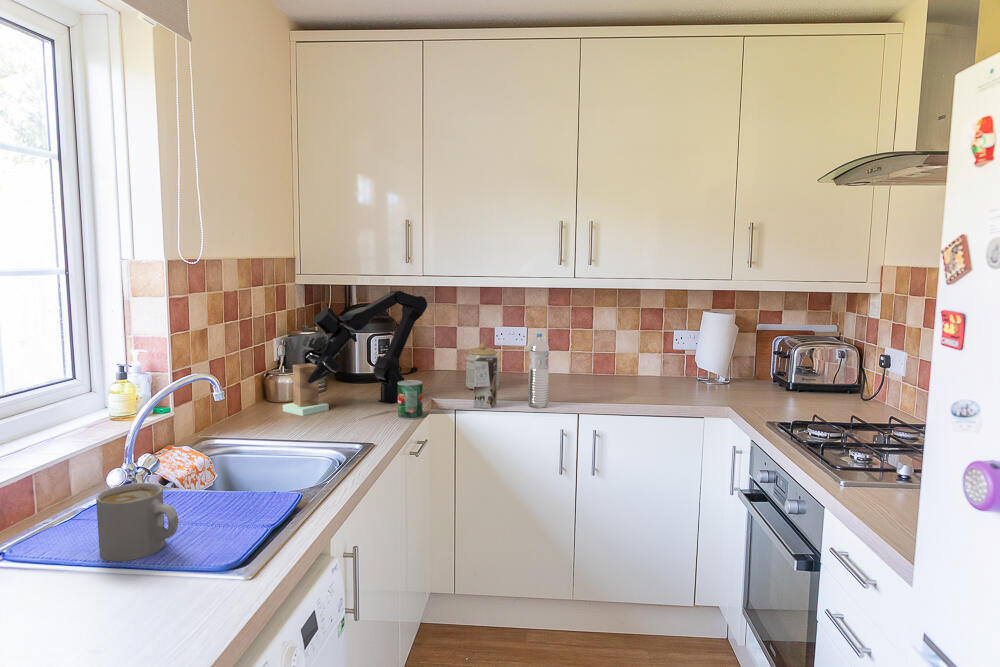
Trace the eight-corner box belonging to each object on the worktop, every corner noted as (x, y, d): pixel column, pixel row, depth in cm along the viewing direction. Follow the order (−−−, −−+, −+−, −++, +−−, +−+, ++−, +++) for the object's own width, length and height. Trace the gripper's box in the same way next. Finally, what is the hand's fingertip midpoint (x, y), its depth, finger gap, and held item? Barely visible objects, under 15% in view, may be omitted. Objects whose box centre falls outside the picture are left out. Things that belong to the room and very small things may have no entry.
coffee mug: (85, 555, 111) (82, 498, 110) (136, 532, 120) (133, 479, 119) (145, 569, 106) (142, 510, 105) (193, 544, 116) (190, 489, 115)
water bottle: (541, 409, 220) (543, 335, 217) (524, 406, 224) (525, 334, 221) (551, 405, 226) (552, 333, 223) (534, 403, 230) (535, 332, 227)
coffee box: (491, 408, 220) (492, 361, 218) (473, 407, 221) (473, 360, 220) (497, 402, 229) (497, 357, 227) (479, 401, 230) (479, 356, 228)
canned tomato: (427, 416, 208) (427, 382, 207) (406, 420, 203) (406, 385, 202) (413, 412, 214) (413, 379, 213) (392, 415, 209) (392, 381, 208)
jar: (467, 384, 261) (467, 340, 259) (499, 385, 260) (500, 341, 258) (464, 391, 248) (464, 345, 246) (498, 391, 248) (498, 345, 245)
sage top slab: (328, 410, 210) (328, 404, 210) (302, 415, 202) (302, 409, 202) (308, 405, 216) (308, 399, 216) (282, 411, 208) (282, 404, 208)
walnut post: (311, 401, 214) (311, 363, 212) (318, 404, 209) (318, 366, 207) (293, 403, 210) (292, 364, 208) (300, 407, 205) (299, 367, 204)
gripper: (306, 324, 216) (274, 360, 211) (329, 329, 202) (295, 368, 196) (330, 346, 222) (298, 381, 217) (354, 352, 207) (321, 391, 202)
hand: (302, 380), depth 208 cm, fingers open, 9 cm apart
